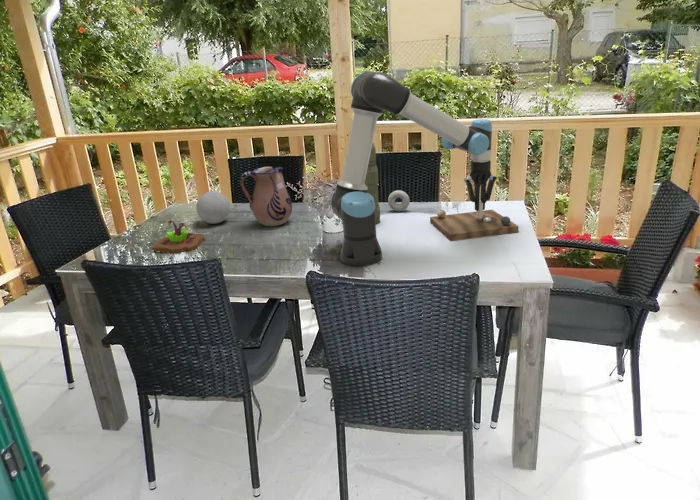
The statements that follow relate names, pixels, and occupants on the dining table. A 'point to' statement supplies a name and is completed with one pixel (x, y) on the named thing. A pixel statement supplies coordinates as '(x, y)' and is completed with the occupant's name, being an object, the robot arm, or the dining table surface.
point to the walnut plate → (472, 225)
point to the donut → (394, 205)
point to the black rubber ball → (505, 220)
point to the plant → (178, 240)
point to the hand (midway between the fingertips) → (479, 217)
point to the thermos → (373, 181)
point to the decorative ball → (213, 207)
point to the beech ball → (441, 213)
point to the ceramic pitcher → (269, 196)
